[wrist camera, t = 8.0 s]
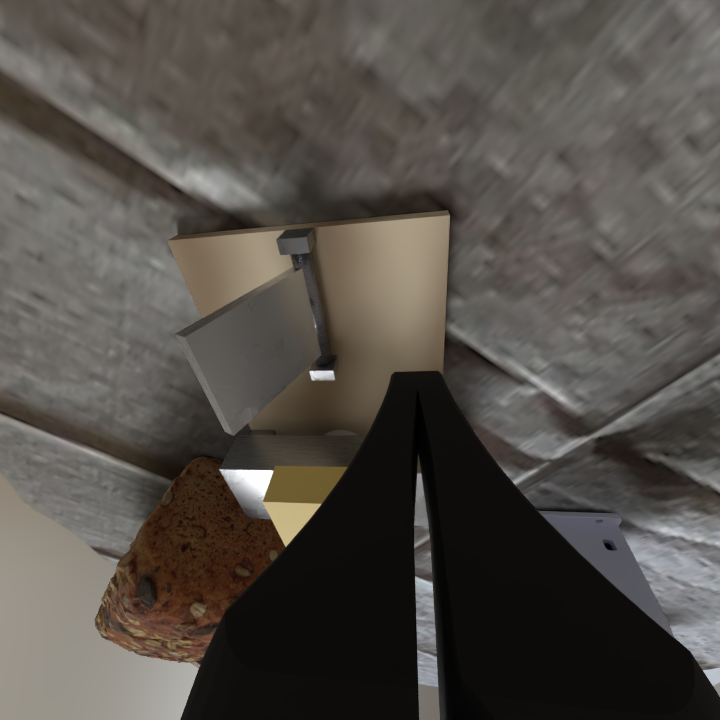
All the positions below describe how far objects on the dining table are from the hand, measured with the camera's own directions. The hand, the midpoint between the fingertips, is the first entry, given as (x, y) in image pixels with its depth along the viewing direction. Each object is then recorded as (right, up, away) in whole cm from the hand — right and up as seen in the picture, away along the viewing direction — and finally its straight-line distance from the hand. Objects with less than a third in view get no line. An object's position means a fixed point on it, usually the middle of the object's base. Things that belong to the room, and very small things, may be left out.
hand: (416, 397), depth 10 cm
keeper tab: (-6, +2, +4) cm, 7 cm away
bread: (-15, -13, +21) cm, 29 cm away
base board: (-3, 0, +9) cm, 10 cm away
